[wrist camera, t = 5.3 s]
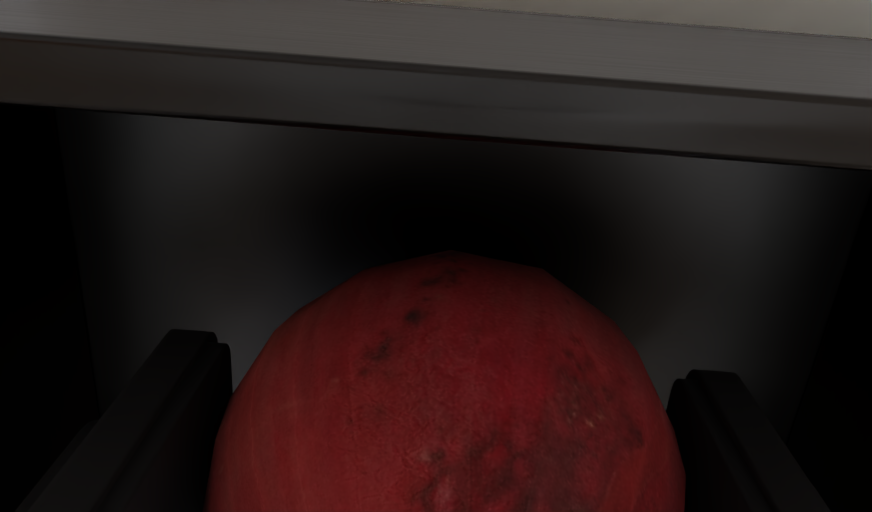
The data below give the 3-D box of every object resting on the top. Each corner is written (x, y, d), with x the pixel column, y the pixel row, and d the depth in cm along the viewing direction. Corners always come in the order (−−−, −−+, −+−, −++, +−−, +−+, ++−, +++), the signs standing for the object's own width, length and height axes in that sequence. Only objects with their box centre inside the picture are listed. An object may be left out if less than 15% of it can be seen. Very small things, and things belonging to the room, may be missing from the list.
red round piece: (408, 108, 11) (303, 438, 3) (682, 305, 12) (1048, 868, 5) (227, 366, 13) (-91, 929, 5) (478, 513, 14) (502, 1140, 6)
